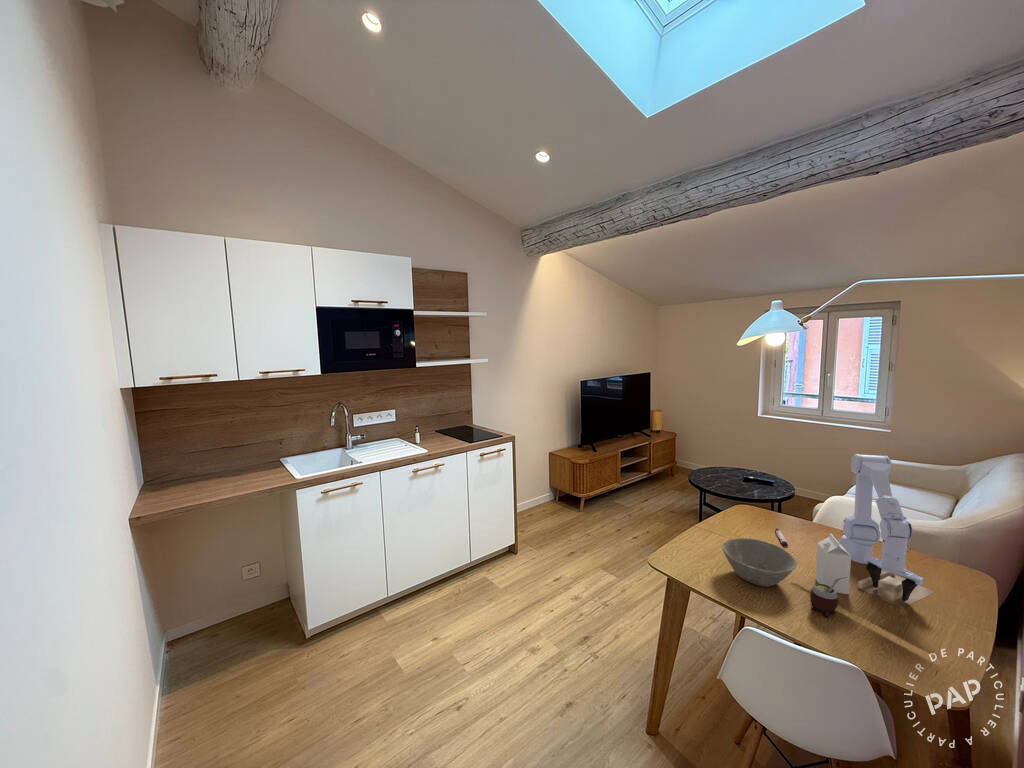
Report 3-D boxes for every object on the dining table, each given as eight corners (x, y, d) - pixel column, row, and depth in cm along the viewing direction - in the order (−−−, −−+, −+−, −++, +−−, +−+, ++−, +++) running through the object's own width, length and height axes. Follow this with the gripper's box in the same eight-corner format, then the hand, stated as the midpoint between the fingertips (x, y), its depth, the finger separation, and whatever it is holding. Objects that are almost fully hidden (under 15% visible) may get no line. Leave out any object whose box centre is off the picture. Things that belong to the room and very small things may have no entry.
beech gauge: (877, 594, 133) (878, 580, 132) (887, 589, 135) (888, 576, 135) (892, 601, 129) (893, 587, 129) (902, 596, 131) (904, 582, 131)
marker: (787, 547, 167) (788, 543, 167) (782, 546, 167) (782, 542, 167) (778, 531, 181) (779, 526, 181) (773, 530, 182) (773, 526, 181)
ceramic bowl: (722, 556, 161) (723, 533, 160) (791, 571, 149) (792, 546, 148) (719, 586, 142) (720, 560, 141) (798, 606, 130) (800, 578, 129)
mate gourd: (806, 602, 132) (809, 559, 131) (836, 607, 129) (838, 564, 128) (813, 616, 125) (816, 572, 124) (844, 623, 122) (848, 577, 121)
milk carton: (839, 585, 140) (842, 534, 138) (848, 598, 134) (852, 544, 132) (815, 582, 143) (818, 532, 140) (823, 594, 136) (826, 541, 134)
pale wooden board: (856, 591, 137) (857, 581, 137) (889, 576, 145) (890, 567, 144) (901, 613, 126) (902, 602, 126) (934, 596, 134) (935, 586, 133)
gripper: (860, 546, 136) (857, 584, 137) (915, 568, 122) (912, 609, 124) (872, 542, 138) (869, 578, 140) (928, 563, 125) (924, 603, 126)
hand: (890, 593), depth 132 cm, fingers open, 7 cm apart
